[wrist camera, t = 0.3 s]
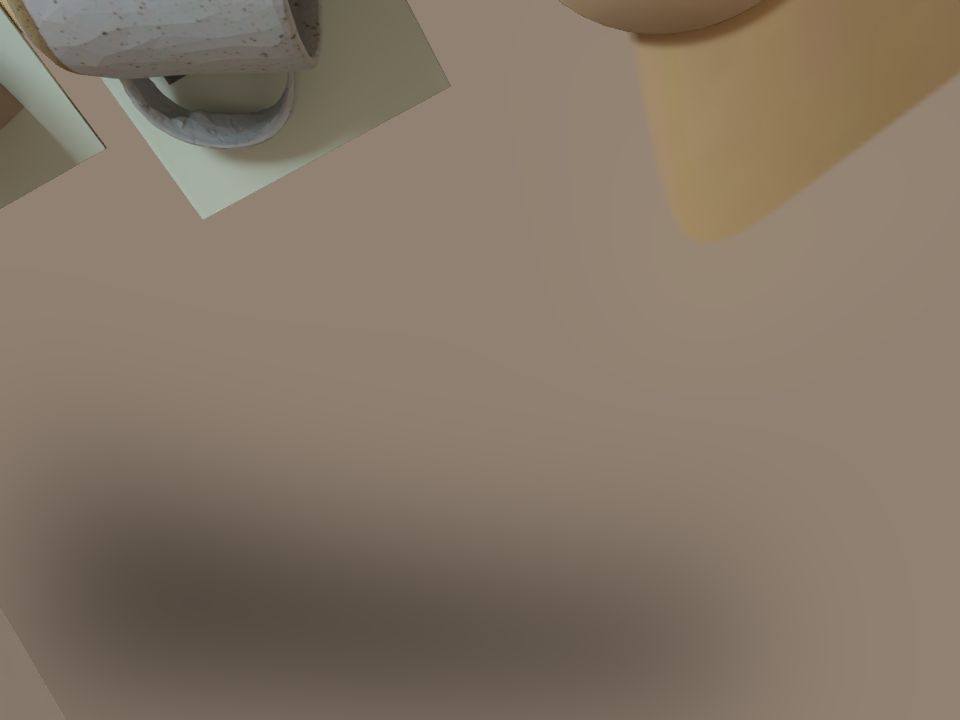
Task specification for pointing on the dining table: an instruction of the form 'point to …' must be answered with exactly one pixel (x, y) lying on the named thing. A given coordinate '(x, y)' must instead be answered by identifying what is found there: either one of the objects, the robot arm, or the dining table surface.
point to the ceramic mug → (182, 53)
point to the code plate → (299, 101)
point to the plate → (37, 121)
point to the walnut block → (8, 106)
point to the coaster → (659, 13)
